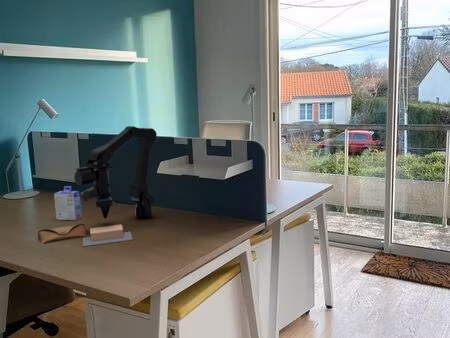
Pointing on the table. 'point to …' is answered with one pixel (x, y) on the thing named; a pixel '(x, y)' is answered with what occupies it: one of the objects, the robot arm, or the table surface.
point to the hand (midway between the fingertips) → (105, 218)
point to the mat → (107, 240)
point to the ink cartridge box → (67, 204)
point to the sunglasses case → (61, 233)
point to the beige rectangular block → (106, 232)
